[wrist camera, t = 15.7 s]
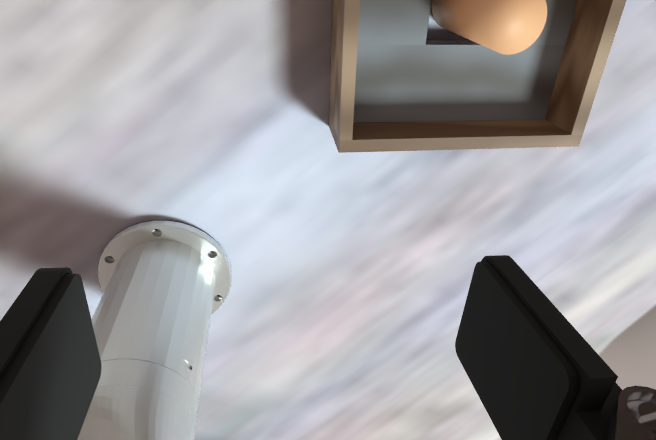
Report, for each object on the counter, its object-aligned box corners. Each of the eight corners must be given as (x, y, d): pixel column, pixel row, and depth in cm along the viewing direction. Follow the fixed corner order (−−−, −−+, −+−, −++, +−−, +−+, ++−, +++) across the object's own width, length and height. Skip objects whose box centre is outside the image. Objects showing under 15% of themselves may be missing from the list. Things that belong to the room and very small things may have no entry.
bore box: (540, 122, 43) (578, 146, 38) (329, 126, 40) (338, 152, 35) (614, -150, 32) (680, -168, 27) (336, -166, 30) (352, -189, 25)
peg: (475, 30, 38) (537, 54, 29) (428, 30, 37) (478, 54, 29) (484, -25, 36) (554, -16, 27) (435, -26, 35) (491, -17, 27)
